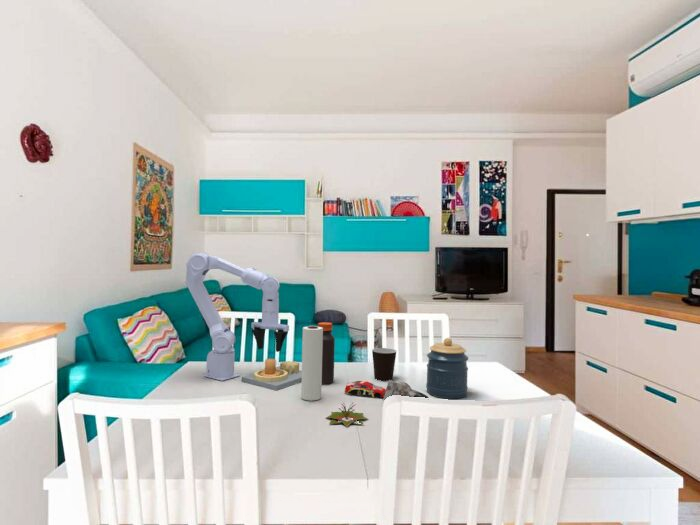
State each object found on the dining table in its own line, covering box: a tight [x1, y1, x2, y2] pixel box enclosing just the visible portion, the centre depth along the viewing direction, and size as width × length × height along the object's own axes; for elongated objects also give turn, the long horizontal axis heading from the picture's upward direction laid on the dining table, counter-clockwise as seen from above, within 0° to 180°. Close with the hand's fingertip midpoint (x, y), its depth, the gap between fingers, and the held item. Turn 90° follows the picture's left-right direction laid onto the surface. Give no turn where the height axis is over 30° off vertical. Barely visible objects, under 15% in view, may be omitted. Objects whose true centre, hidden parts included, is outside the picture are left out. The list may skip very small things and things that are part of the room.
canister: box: [425, 337, 469, 400], centre depth 136 cm, size 13×13×18 cm
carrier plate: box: [241, 360, 302, 391], centre depth 147 cm, size 16×19×4 cm
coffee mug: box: [371, 347, 397, 382], centre depth 152 cm, size 12×9×10 cm
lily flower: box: [325, 402, 368, 428], centre depth 112 cm, size 12×12×5 cm
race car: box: [344, 380, 386, 399], centre depth 133 cm, size 13×5×4 cm, turn 73°
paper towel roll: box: [300, 324, 323, 402], centre depth 129 cm, size 7×6×21 cm
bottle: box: [317, 321, 336, 386], centre depth 145 cm, size 7×7×20 cm
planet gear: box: [259, 358, 281, 377], centre depth 143 cm, size 7×7×6 cm
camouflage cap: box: [382, 379, 429, 402], centre depth 124 cm, size 7×11×10 cm
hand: (269, 350), depth 150 cm, fingers open, 7 cm apart
